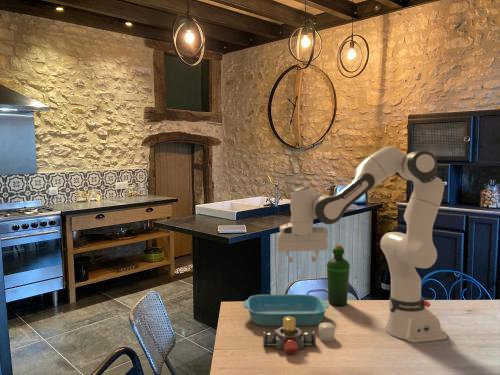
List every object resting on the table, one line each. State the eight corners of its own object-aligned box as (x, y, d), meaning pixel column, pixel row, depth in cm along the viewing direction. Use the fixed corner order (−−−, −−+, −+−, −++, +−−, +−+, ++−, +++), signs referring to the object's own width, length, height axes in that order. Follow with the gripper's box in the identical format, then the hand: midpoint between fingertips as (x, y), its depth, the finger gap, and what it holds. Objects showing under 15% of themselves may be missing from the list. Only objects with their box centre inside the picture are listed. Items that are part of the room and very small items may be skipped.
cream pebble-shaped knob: (332, 334, 157) (332, 322, 157) (336, 342, 151) (336, 329, 151) (317, 334, 157) (317, 322, 157) (320, 342, 151) (320, 329, 151)
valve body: (312, 338, 153) (312, 325, 153) (318, 355, 141) (318, 340, 141) (262, 339, 153) (262, 326, 153) (264, 355, 141) (264, 341, 141)
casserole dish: (322, 307, 184) (322, 292, 184) (334, 329, 162) (334, 312, 162) (243, 309, 184) (242, 293, 183) (243, 330, 161) (243, 313, 161)
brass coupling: (294, 331, 151) (294, 316, 150) (296, 337, 146) (296, 321, 146) (282, 331, 151) (282, 316, 150) (283, 337, 146) (283, 321, 146)
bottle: (352, 301, 190) (353, 244, 188) (344, 309, 182) (345, 249, 179) (331, 297, 196) (331, 241, 194) (322, 304, 187) (323, 246, 185)
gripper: (326, 225, 162) (326, 258, 163) (275, 226, 162) (276, 259, 163) (329, 228, 156) (329, 262, 157) (277, 229, 155) (277, 264, 157)
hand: (302, 261), depth 160 cm, fingers open, 8 cm apart
